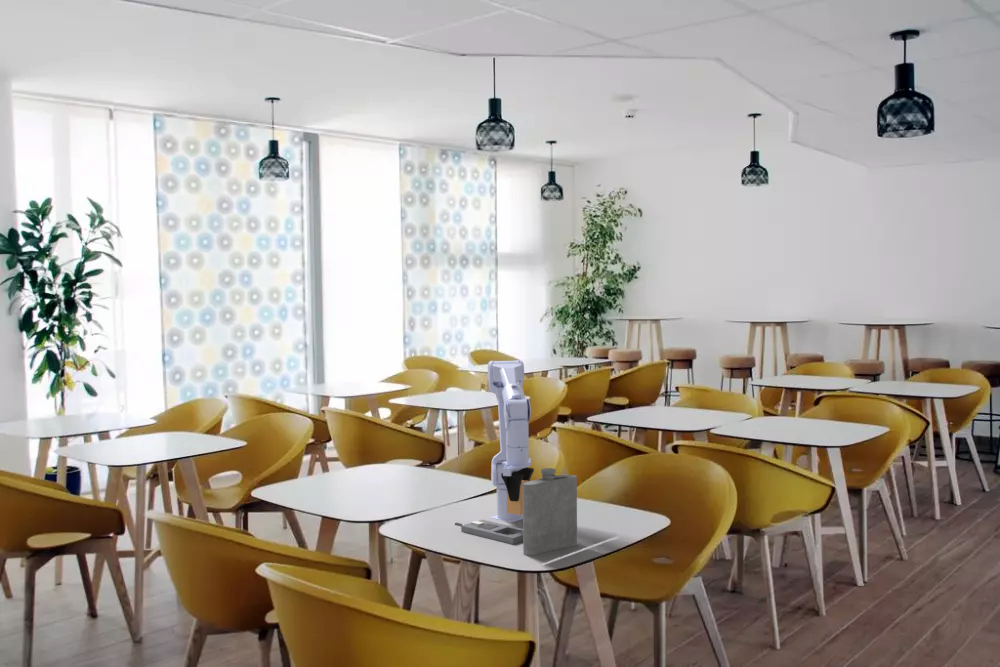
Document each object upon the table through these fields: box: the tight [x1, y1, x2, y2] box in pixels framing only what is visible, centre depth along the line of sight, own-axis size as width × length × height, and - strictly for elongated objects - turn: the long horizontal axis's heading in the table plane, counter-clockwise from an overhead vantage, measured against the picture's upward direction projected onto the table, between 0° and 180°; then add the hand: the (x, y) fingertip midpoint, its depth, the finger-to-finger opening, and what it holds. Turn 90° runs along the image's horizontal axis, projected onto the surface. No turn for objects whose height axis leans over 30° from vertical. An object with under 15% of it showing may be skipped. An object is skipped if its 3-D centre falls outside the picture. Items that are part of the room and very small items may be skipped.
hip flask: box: [522, 467, 578, 557], centre depth 217 cm, size 16×4×20 cm, turn 126°
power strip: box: [454, 519, 523, 545], centre depth 232 cm, size 8×24×2 cm, turn 47°
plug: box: [507, 480, 528, 515], centre depth 229 cm, size 4×4×8 cm
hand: (517, 498), depth 229 cm, fingers closed on plug, 5 cm apart
